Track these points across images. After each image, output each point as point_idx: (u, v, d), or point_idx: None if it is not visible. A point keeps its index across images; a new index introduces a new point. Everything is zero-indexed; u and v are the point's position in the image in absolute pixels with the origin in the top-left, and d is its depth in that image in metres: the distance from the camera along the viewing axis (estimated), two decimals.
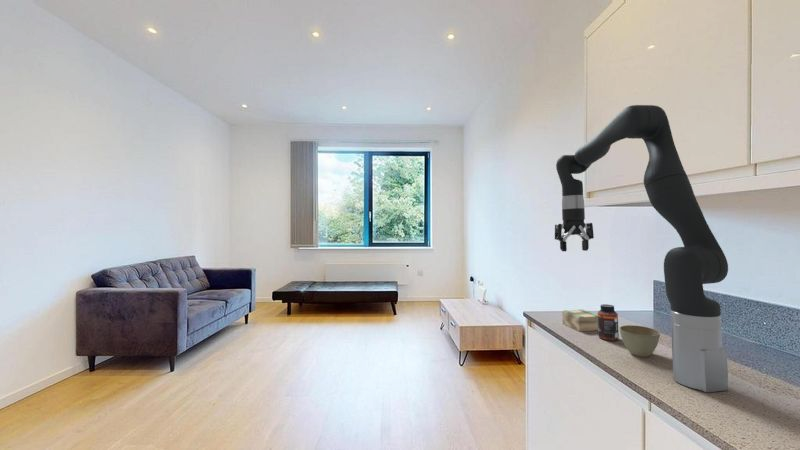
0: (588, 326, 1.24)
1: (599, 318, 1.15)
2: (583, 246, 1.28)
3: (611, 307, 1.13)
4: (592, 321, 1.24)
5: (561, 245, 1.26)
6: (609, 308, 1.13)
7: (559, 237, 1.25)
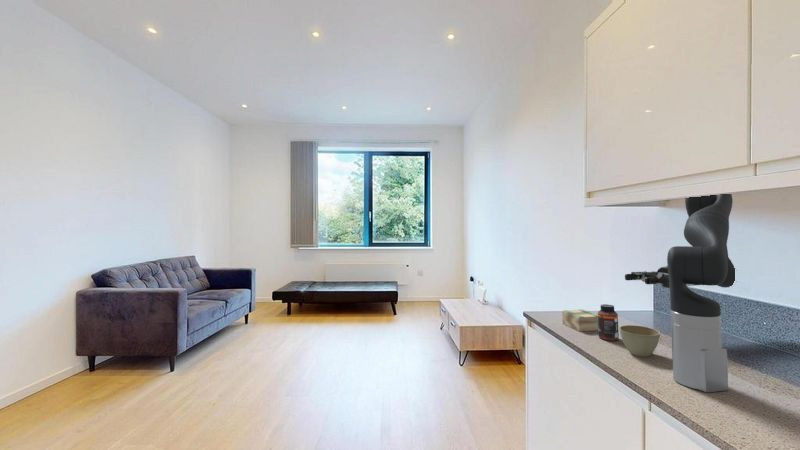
0: (588, 326, 1.24)
1: (599, 318, 1.15)
2: None
3: (611, 307, 1.13)
4: (592, 321, 1.24)
5: None
6: (609, 308, 1.13)
7: (633, 272, 1.24)
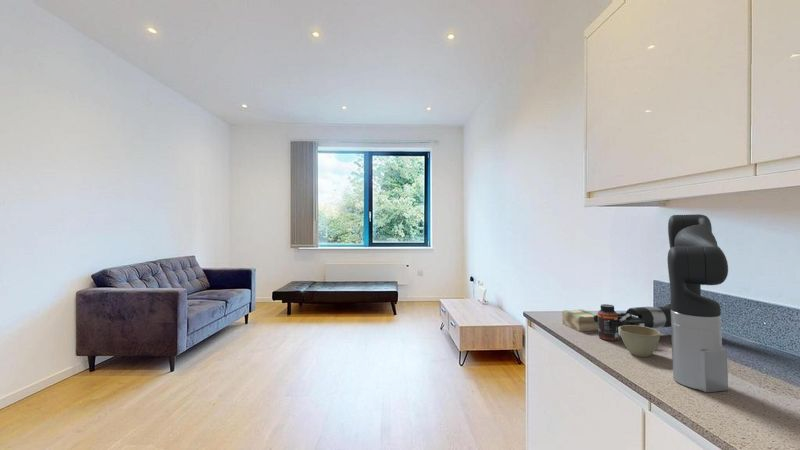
0: (588, 326, 1.24)
1: (599, 318, 1.15)
2: None
3: (611, 307, 1.13)
4: (592, 321, 1.24)
5: None
6: (609, 308, 1.13)
7: None
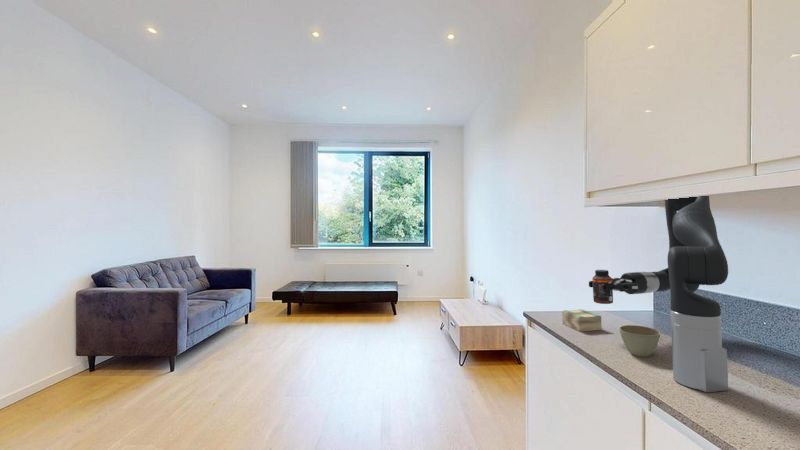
0: (588, 326, 1.24)
1: (594, 283, 1.18)
2: None
3: (605, 271, 1.16)
4: (592, 321, 1.24)
5: None
6: (603, 272, 1.16)
7: None
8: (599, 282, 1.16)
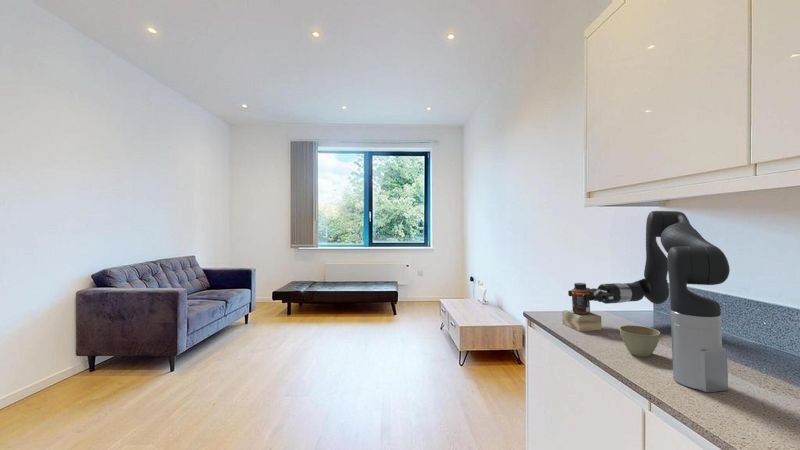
0: (588, 326, 1.24)
1: (573, 295, 1.29)
2: None
3: (583, 285, 1.27)
4: (592, 321, 1.24)
5: None
6: (581, 286, 1.27)
7: None
8: (577, 294, 1.27)
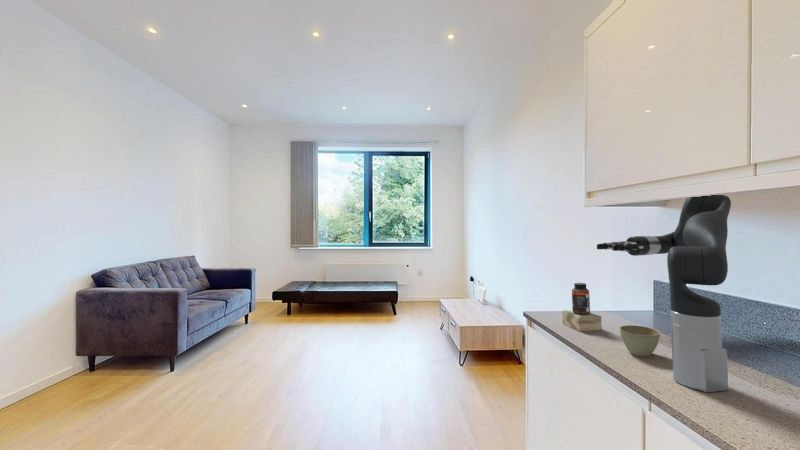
0: (588, 326, 1.24)
1: (573, 295, 1.29)
2: None
3: (583, 285, 1.27)
4: (592, 321, 1.24)
5: None
6: (581, 286, 1.27)
7: None
8: (577, 294, 1.27)
